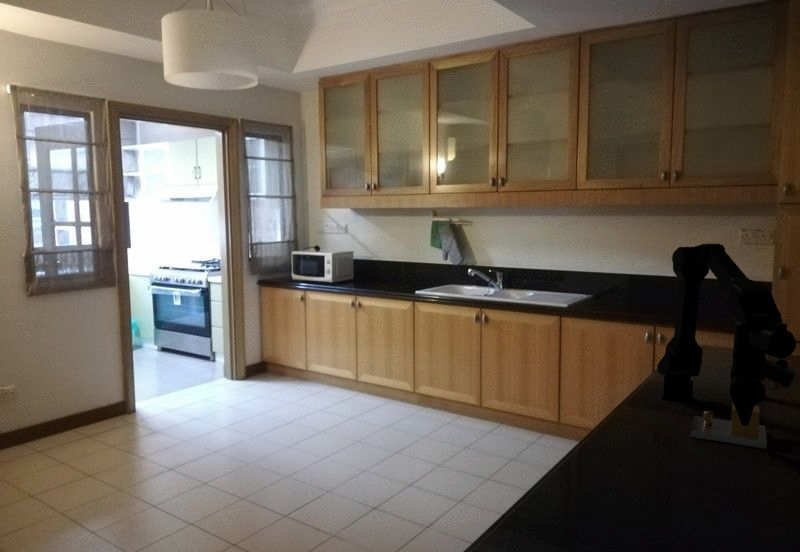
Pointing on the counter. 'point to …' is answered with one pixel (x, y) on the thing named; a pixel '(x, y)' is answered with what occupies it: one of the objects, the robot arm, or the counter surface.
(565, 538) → the counter surface
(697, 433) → the plate
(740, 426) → the tan cardboard box
